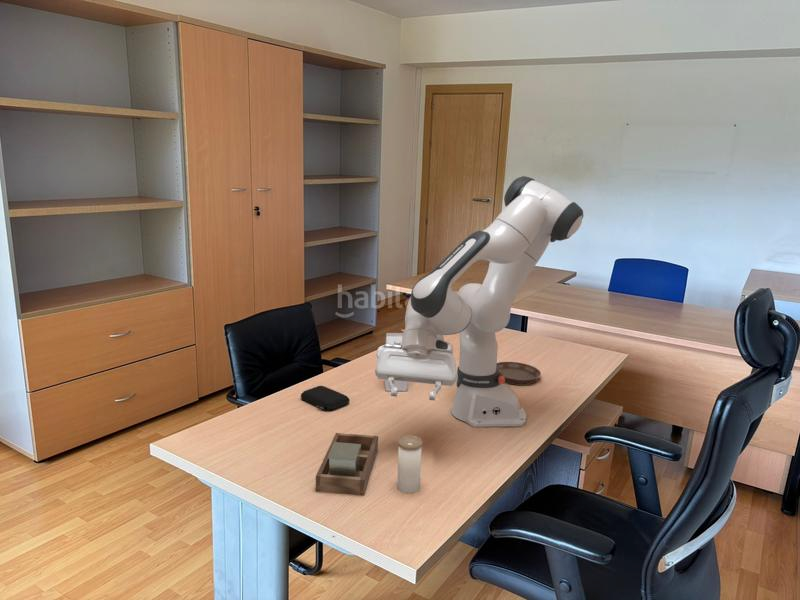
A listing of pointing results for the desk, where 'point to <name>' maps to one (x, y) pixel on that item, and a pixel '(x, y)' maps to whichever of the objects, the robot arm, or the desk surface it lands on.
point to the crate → (345, 482)
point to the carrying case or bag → (325, 398)
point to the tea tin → (344, 459)
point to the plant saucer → (518, 372)
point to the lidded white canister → (409, 463)
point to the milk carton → (395, 340)
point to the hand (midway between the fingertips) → (413, 397)
